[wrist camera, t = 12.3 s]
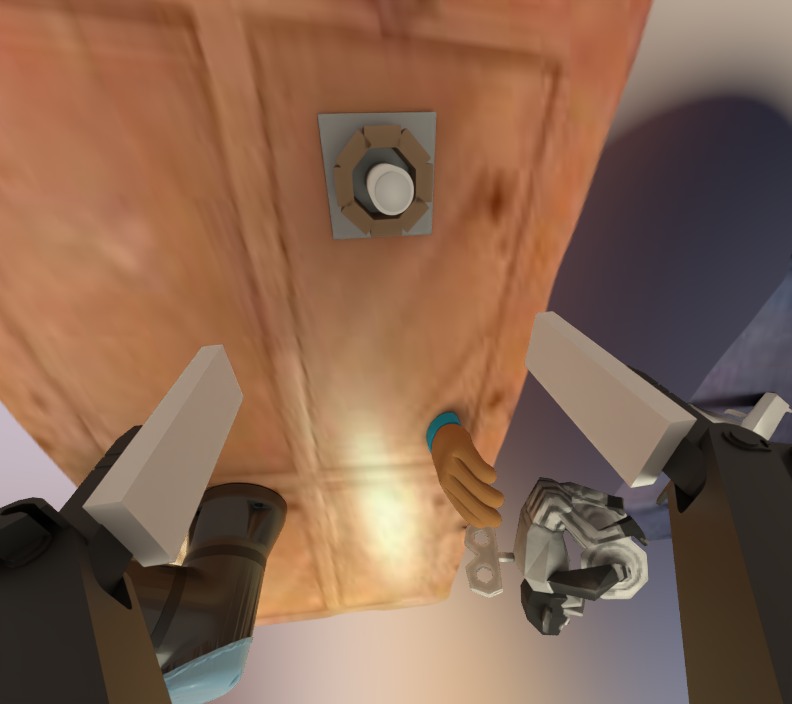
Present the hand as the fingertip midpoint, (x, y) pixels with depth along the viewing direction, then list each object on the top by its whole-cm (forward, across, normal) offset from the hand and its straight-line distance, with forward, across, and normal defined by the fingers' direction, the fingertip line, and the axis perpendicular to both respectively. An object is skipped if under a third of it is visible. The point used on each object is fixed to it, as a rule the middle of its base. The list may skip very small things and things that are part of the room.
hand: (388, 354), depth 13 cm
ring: (+21, +2, +5) cm, 22 cm away
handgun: (+22, +61, -33) cm, 73 cm away
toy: (+23, +31, -58) cm, 70 cm away
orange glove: (+23, +11, -32) cm, 41 cm away
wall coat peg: (+22, +2, +5) cm, 23 cm away
